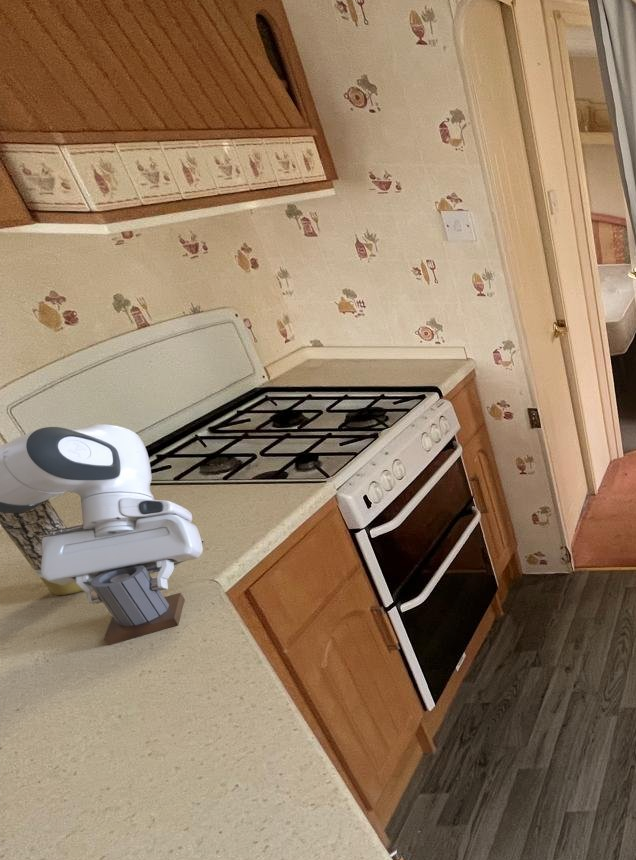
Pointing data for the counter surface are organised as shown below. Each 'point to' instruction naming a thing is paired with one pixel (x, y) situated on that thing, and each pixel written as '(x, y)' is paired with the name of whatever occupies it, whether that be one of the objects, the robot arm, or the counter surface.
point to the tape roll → (130, 595)
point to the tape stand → (162, 622)
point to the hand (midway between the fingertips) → (128, 595)
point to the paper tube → (36, 538)
